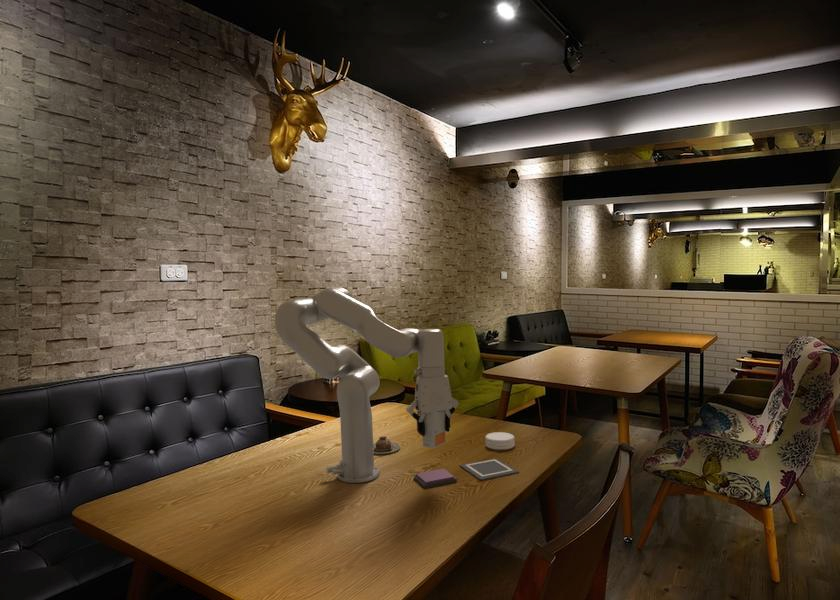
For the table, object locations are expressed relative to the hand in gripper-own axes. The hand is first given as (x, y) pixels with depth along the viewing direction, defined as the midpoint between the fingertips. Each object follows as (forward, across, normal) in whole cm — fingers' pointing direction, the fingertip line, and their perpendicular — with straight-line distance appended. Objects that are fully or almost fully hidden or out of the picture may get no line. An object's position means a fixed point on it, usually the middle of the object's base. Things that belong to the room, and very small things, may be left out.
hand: (434, 432), depth 154 cm
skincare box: (+4, 0, 0) cm, 4 cm away
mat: (+14, +18, 0) cm, 23 cm away
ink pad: (+14, 0, 0) cm, 14 cm away
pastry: (+15, -5, +34) cm, 37 cm away
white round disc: (+15, +33, +18) cm, 40 cm away
